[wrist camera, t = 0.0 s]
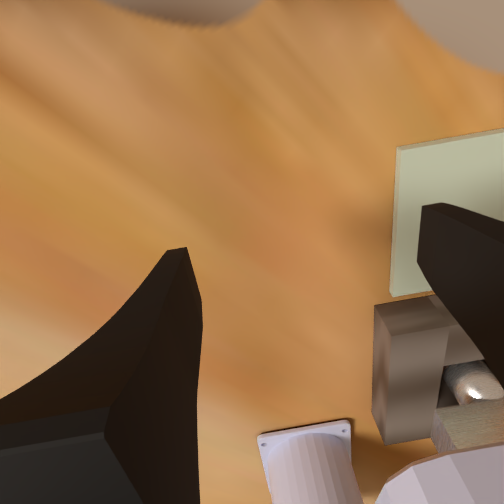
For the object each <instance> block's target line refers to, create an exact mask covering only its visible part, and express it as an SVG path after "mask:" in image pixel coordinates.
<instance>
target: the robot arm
mask: <svg viewBox="0 0 504 504" xmlns="http://www.w3.org/2000/svg"><path fill="white" fill-rule="evenodd" d="M417 264H418V265H419V267H420V269H421V271H422V273H423V275H424V277H425V278H426V280H427V282H428V284H429V285H430V287H431V288H432V290H433V291H434V292H435V294H436V295H437V296H438V298H439V299H440V300H441V302H442V303H443V304H444V306H445V307H446V308H447V309H448V311H449V312H450V313H451V314H452V316H453V317H454V318H455V320H456V321H457V322H458V323H459V325H460V326H461V327H462V329H463V330H464V331H465V332H466V334H467V335H468V336H469V337H470V339H471V340H472V341H473V343H474V344H475V345H476V347H477V348H478V350H479V351H480V352H481V354H482V355H483V357H484V359H485V360H486V362H487V363H488V365H489V367H490V368H491V370H492V372H493V373H494V375H495V376H496V378H497V380H498V381H499V383H500V385H501V386H502V388H503V390H504V222H503V221H500V220H497V219H494V218H491V217H488V216H485V215H482V214H480V213H477V212H474V211H471V210H468V209H465V208H462V207H458V206H455V205H452V204H448V203H443V202H440V203H435V204H429V205H423V206H422V209H421V220H420V230H419V241H418V251H417ZM202 331H203V320H202V301H201V296H200V292H199V289H198V285H197V282H196V278H195V275H194V271H193V268H192V264H191V260H190V257H189V253H188V250H187V247H184V248H178V249H172V250H167V251H166V252H165V254H164V255H163V256H162V257H161V259H160V260H159V262H158V263H157V264H156V266H155V267H154V268H153V270H152V271H151V272H150V274H149V275H148V276H147V277H146V279H145V280H144V281H143V283H142V284H141V285H140V286H139V288H138V289H137V290H136V291H135V292H134V293H133V295H132V296H131V297H130V298H129V299H128V300H127V301H126V303H125V304H124V305H123V306H122V307H121V308H120V309H119V310H118V311H117V313H116V314H115V315H114V316H113V317H112V318H111V319H110V320H109V321H108V322H106V323H105V324H104V325H103V326H102V327H101V328H100V329H99V330H98V331H97V332H96V333H95V334H93V335H92V336H91V337H90V338H89V339H87V340H86V341H85V342H84V343H82V344H81V345H80V346H79V347H77V348H76V349H75V350H74V351H72V352H71V353H70V354H69V355H67V356H66V357H65V358H63V359H62V360H61V361H59V362H58V363H57V364H55V365H54V366H52V367H51V368H49V369H48V370H47V371H45V372H44V373H42V374H41V375H39V376H38V377H36V378H34V379H33V380H31V381H30V382H28V383H27V384H25V385H24V386H22V387H20V388H19V389H17V390H15V391H14V392H12V393H10V394H8V395H7V396H5V397H3V398H2V399H0V504H200V490H199V469H198V439H197V389H198V377H199V366H200V355H201V343H202ZM257 442H258V446H259V450H260V454H261V458H262V462H263V466H264V470H265V475H266V479H267V483H268V487H269V491H270V493H271V496H272V504H364V503H363V500H362V496H361V493H360V490H359V487H358V483H357V480H356V477H355V474H354V470H353V467H352V464H351V425H350V422H349V421H348V420H340V421H334V422H328V423H322V424H317V425H311V426H305V427H300V428H294V429H288V430H282V431H277V432H271V433H265V434H261V435H259V436H258V437H257ZM375 504H504V441H503V442H497V443H491V444H485V445H480V446H474V447H468V448H463V449H457V450H451V451H445V452H442V453H439V454H435V455H432V456H429V457H426V458H423V459H420V460H416V461H413V462H411V463H410V464H408V465H407V466H405V467H404V468H402V469H401V470H399V471H398V472H396V473H395V474H393V475H392V476H390V477H389V478H388V479H387V481H386V483H385V485H384V486H383V488H382V490H381V492H380V494H379V496H378V498H377V500H376V502H375Z"/></svg>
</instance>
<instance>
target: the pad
mask: <svg viewBox="0 0 504 504" xmlns="http://www.w3.org/2000/svg"><path fill="white" fill-rule="evenodd" d="M440 202H443V203H448V204H452V205H455V206H458V207H462V208H465V209H468V210H471V211H474V212H477V213H480V214H482V215H485V216H488V217H491V218H494V219H497V220H500V221H503V222H504V128H502V129H496V130H490V131H485V132H479V133H473V134H468V135H462V136H456V137H451V138H445V139H439V140H434V141H428V142H422V143H417V144H411V145H405V146H400V147H397V152H396V171H395V191H394V210H393V230H392V249H391V269H390V288H389V292H390V293H391V295H392V297H396V296H402V295H408V294H414V293H419V292H425V291H431V290H432V288H431V287H430V285H429V284H428V282H427V280H426V278H425V277H424V275H423V273H422V271H421V269H420V267H419V265H418V264H417V251H418V241H419V230H420V220H421V209H422V206H423V205H429V204H435V203H440Z"/></svg>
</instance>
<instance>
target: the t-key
mask: <svg viewBox="0 0 504 504" xmlns="http://www.w3.org/2000/svg"><path fill="white" fill-rule="evenodd" d="M442 377H443V379H444V380H445V382H446V384H447V385H448V387H449V388H450V390H451V391H452V393H453V395H454V396H455V398H456V399H457V401H458V403H459V404H460V406H454V407H448V408H443V409H437V410H435V413H434V419H433V425H432V431H431V439H432V441H433V443H434V445H435V447H436V449H437V451H438V453H442V452H445V451H451V450H457V449H463V448H468V447H474V446H480V445H485V444H491V443H497V442H503V441H504V390H503V388H502V386H501V385H500V383H499V381H498V380H497V378H496V377H495V376H494V375H493V373H492V372H491V371H490V369H489V368H488V367H487V365H486V364H485V363H484V362H483V360H482V359H481V360H476V361H470V362H464V363H459V364H453V365H447V366H443V371H442Z"/></svg>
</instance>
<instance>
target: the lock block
mask: <svg viewBox="0 0 504 504" xmlns="http://www.w3.org/2000/svg"><path fill="white" fill-rule="evenodd" d="M481 359H482V360H483V362H484V363H485V364H486V365H487V367H488V368H489V369H490V371H491V372H492V370H491V368H490V367H489V365H488V363H487V362H486V360H485V359H484V357H483V355H482V354H481V352H480V351H479V350H478V348H477V347H476V345H475V344H474V343H473V341H472V340H471V339H470V337H469V336H468V335H467V334H466V332H465V331H464V330H463V329H462V327H461V326H460V325H459V323H458V322H457V321H456V320H455V318H454V317H453V316H452V314H451V313H450V312H449V311H448V309H447V308H446V307H445V306H444V304H443V303H442V302H441V300H440V299H439V298H438V296H437V295H431V296H425V297H419V298H414V299H408V300H402V301H397V302H391V303H385V304H380V305H374V342H373V381H372V414H373V417H374V419H375V422H376V424H377V427H378V429H379V432H380V434H381V437H382V439H383V442H384V444H385V445H391V444H397V443H403V442H408V441H414V440H420V439H425V438H431V431H432V425H433V419H434V413H435V410H437V409H443V408H448V407H454V406H460V404H459V403H458V401H457V399H456V398H455V396H454V395H453V393H452V391H451V390H450V388H449V387H448V385H447V384H446V382H445V380H444V379H443V377H442V371H443V366H447V365H453V364H459V363H464V362H470V361H476V360H481ZM492 373H493V372H492ZM493 375H494V373H493ZM494 376H495V375H494ZM495 377H496V376H495Z"/></svg>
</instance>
